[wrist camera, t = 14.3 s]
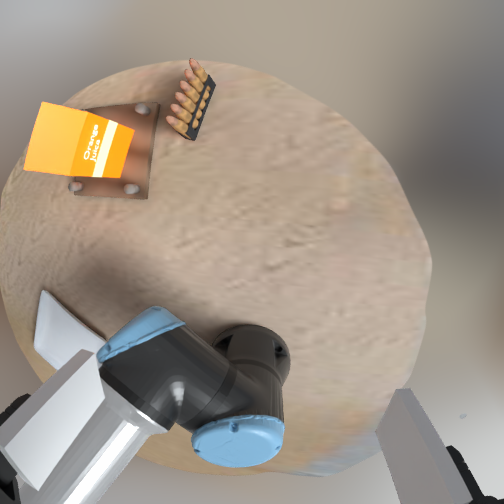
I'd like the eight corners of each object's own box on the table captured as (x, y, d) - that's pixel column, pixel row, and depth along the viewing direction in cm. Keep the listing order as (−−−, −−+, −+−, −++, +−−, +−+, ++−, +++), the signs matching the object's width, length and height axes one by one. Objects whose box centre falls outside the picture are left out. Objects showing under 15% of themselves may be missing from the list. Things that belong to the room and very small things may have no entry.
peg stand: (147, 199, 46) (136, 200, 41) (78, 194, 46) (64, 195, 42) (159, 104, 42) (150, 97, 38) (89, 110, 43) (76, 106, 38)
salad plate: (39, 343, 56) (32, 349, 52) (49, 283, 51) (40, 288, 48) (98, 392, 57) (92, 399, 53) (118, 338, 52) (110, 346, 49)
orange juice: (88, 169, 43) (8, 165, 24) (102, 123, 42) (26, 100, 22) (120, 178, 44) (41, 176, 24) (135, 130, 42) (62, 101, 22)
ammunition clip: (195, 141, 43) (170, 125, 31) (185, 138, 43) (158, 122, 31) (216, 84, 41) (199, 54, 29) (206, 82, 41) (186, 52, 29)
